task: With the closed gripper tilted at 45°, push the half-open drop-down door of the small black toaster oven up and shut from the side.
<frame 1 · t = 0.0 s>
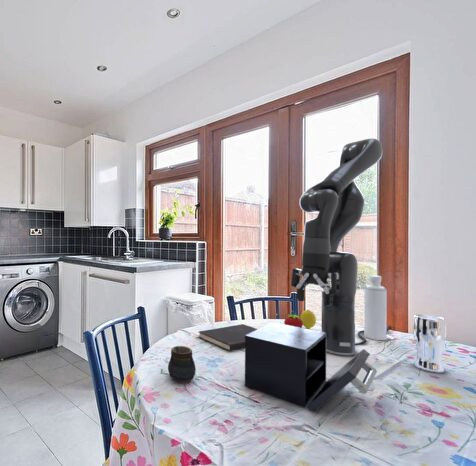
hand: (313, 303, 100), 17 cm above the table, tool pointing down, fingers open, 8 cm apart
oven: (286, 384, 82), on the table
mate gourd: (181, 380, 84), on the table
lemon: (308, 329, 130), on the table
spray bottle: (375, 337, 120), on the table
strawberry: (293, 337, 120), on the table
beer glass: (429, 368, 92), on the table
oven door: (346, 384, 73), point 4 cm above the table, hinge at 36.2°
hardcover book: (237, 340, 116), on the table
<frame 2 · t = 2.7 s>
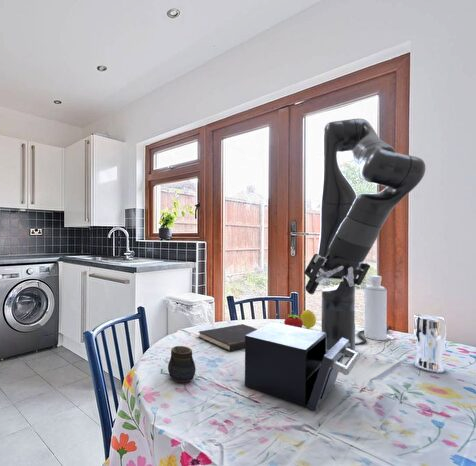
hand: (323, 294, 81), 24 cm above the table, tool tilted 25°, fingers open, 8 cm apart
oven door: (337, 375, 74), point 6 cm above the table, hinge at 14.6°
everything else where it was.
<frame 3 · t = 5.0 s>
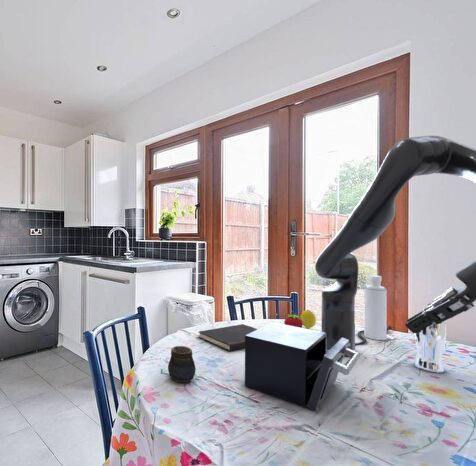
hand: (410, 326, 65), 20 cm above the table, tool tilted 45°, fingers open, 3 cm apart
nothing on the table moved.
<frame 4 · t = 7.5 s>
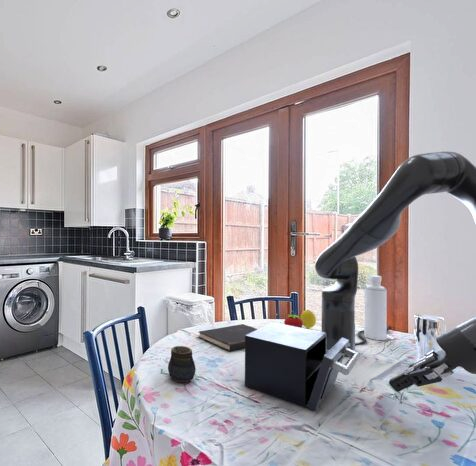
hand: (392, 386, 67), 7 cm above the table, tool tilted 45°, fingers closed
nothing on the table moved.
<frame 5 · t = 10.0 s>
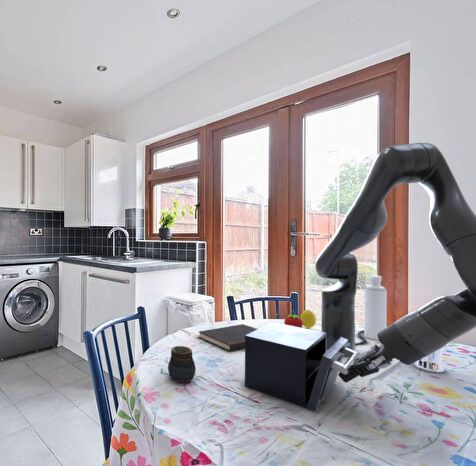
hand: (342, 377, 73), 6 cm above the table, tool tilted 45°, fingers closed
oven door: (336, 375, 74), point 6 cm above the table, hinge at 13.7°, touching gripper, hand
everything else where it was.
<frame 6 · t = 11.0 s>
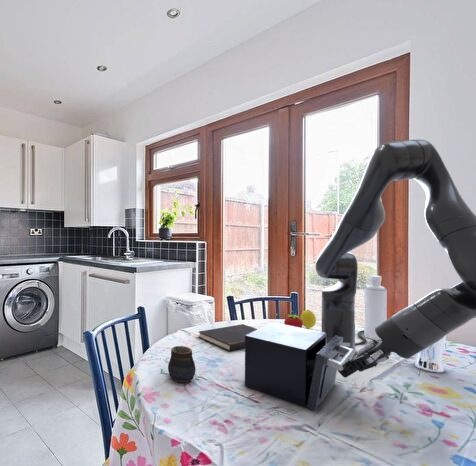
hand: (341, 373, 73), 7 cm above the table, tool tilted 45°, fingers closed
oven door: (334, 373, 74), point 6 cm above the table, hinge at 8.6°, touching gripper
everything else where it was.
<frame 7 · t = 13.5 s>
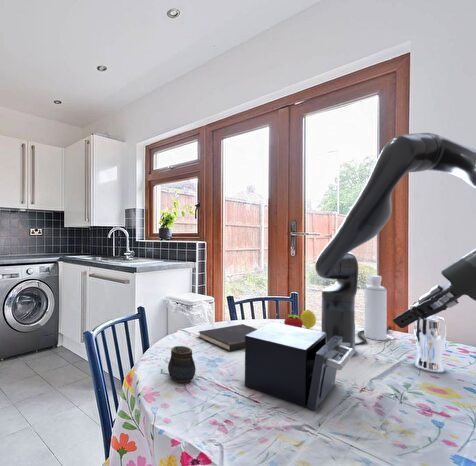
hand: (396, 323, 66), 20 cm above the table, tool tilted 45°, fingers closed
oven door: (333, 372, 74), point 6 cm above the table, hinge at 7.8°
everything else where it was.
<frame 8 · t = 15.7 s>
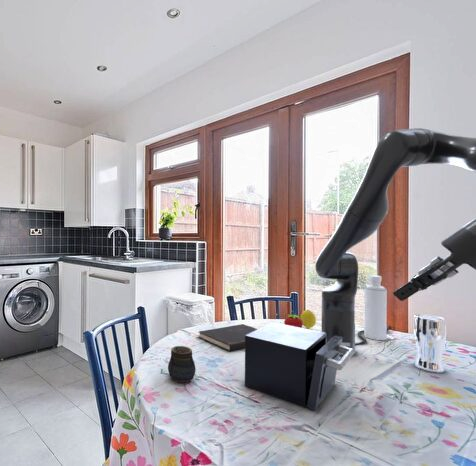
hand: (397, 296, 66), 26 cm above the table, tool tilted 45°, fingers closed
nothing on the table moved.
at the end: oven door at +8° (first picture: +36°) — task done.
